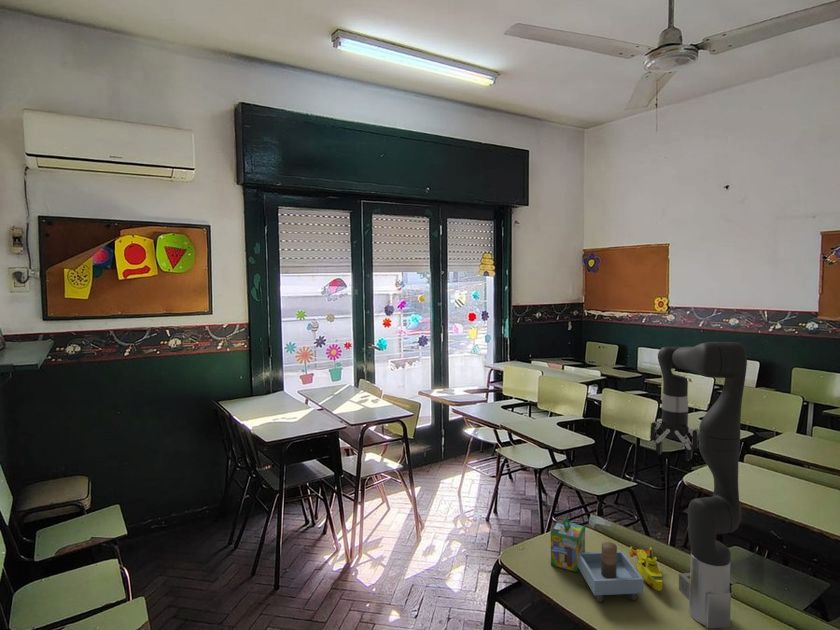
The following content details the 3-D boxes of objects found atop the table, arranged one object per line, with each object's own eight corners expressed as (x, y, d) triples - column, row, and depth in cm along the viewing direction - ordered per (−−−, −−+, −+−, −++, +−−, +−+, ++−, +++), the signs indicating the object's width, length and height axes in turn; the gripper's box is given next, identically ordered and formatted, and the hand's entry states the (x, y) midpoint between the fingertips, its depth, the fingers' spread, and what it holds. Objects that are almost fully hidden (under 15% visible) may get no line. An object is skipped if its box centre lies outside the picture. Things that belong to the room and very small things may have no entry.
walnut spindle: (618, 578, 145) (619, 549, 144) (604, 579, 145) (604, 550, 144) (612, 570, 149) (613, 541, 148) (599, 570, 149) (599, 542, 148)
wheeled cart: (643, 603, 141) (643, 579, 140) (594, 605, 140) (594, 581, 140) (621, 573, 155) (622, 550, 154) (577, 575, 154) (577, 552, 154)
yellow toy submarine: (649, 562, 160) (649, 532, 160) (671, 599, 143) (672, 566, 142) (628, 561, 161) (628, 532, 160) (648, 598, 143) (648, 565, 142)
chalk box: (578, 574, 155) (579, 528, 153) (549, 565, 160) (549, 521, 158) (586, 559, 163) (586, 515, 161) (558, 551, 168) (558, 509, 166)
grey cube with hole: (678, 589, 147) (679, 573, 146) (694, 588, 147) (695, 572, 147) (689, 600, 142) (690, 584, 141) (705, 599, 142) (706, 582, 142)
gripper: (647, 406, 163) (646, 454, 164) (696, 414, 153) (694, 465, 154) (655, 402, 168) (654, 448, 170) (702, 409, 158) (701, 458, 160)
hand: (673, 456), depth 162 cm, fingers open, 8 cm apart
